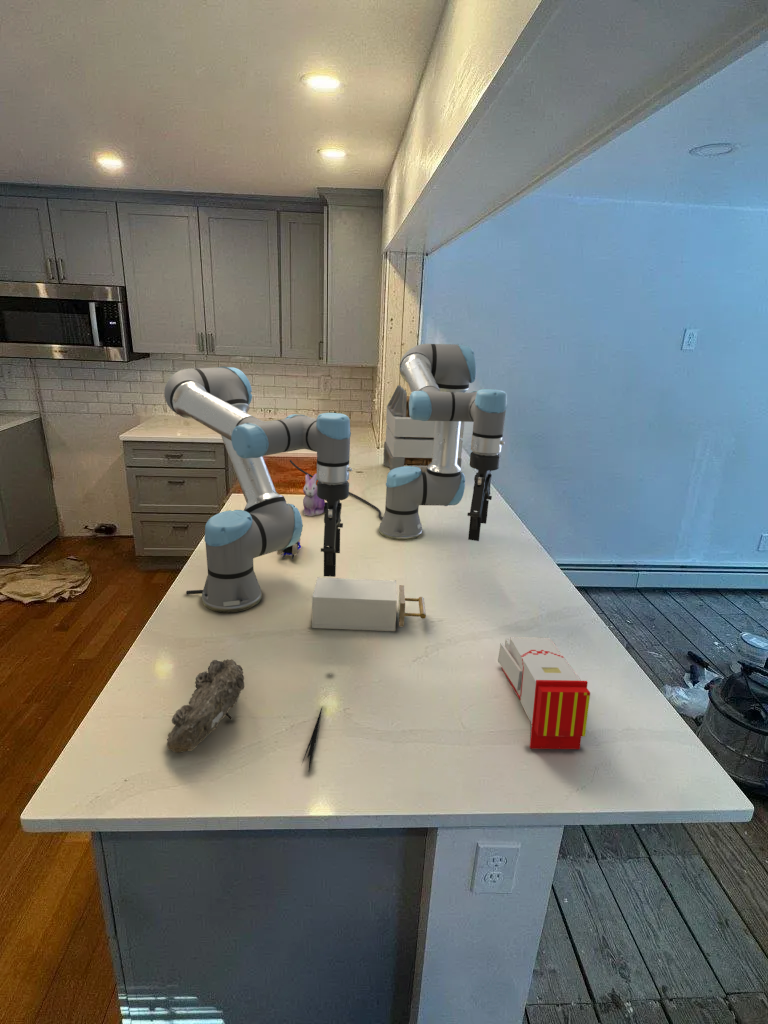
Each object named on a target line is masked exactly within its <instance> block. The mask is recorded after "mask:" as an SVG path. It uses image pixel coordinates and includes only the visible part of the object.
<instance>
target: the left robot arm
mask: <svg viewBox="0 0 768 1024" xmlns="http://www.w3.org/2000/svg"><path fill="white" fill-rule="evenodd" d="M252 391H253V390H252V386H251V382H250V380H249V377H247V374H245V373H244V372H243V370H241V369H240V368H236V367H233V366H229V367H228V366H218V367H203V368H202V367H201V368H200V367H198V368H197V367H196V368H184V369H181V370H178V371H176V372H175V373H173V374H172V375H171V376H170V377H169V378H168V379H167V381H166V384H165V386H164V390H163V393H164V400H165V402H166V404H167V406H168V407H169V409H170V410H171V411H172V412H174V413H175V414H176V415H178V416H180V417H182V418H184V419H193V420H195V421H196V422H198V423H200V424H202V425H203V426H205V427H207V428H208V429H210V430H212V431H213V432H215V433H217V434H219V435H220V437H221V439H222V441H223V445H224V447H225V450H226V452H227V456H228V458H229V460H230V463H231V465H232V468H233V471H234V473H235V476H236V478H237V481H238V484H239V487H240V489H241V492H242V494H243V498H244V500H245V502H246V504H245V507H244V509H234V510H231V509H230V510H225V511H221V512H218V513H215V514H214V515H211V517H210V518H209V519H208V520H207V521H206V523H205V526H204V543H205V555H206V567H207V569H206V570H207V575H206V579H205V582H204V585H203V589H194V590H193V589H192V590H186V591H185V594H186V595H201V599H202V601H201V602H202V604H203V606H204V607H205V608H207V609H208V610H209V611H213V612H218V613H238V612H242V611H245V610H248V609H249V610H250V609H251V608H253V607H254V606H256V605H258V604H259V602H261V600H262V588H261V586H260V583H259V580H258V577H257V576H256V573H255V571H254V559H255V558H258V557H262V556H265V555H268V554H271V553H274V552H277V550H283V549H285V548H287V547H289V546H292V545H294V544H296V543H297V542H298V540H299V539H300V540H301V536H302V532H303V527H302V525H303V518H302V515H301V513H300V511H299V508H298V507H296V505H294V504H292V503H289V502H288V503H287V501H286V498H285V496H284V495H283V494H280V493H279V492H277V490H276V488H275V485H274V482H273V480H272V477H271V474H270V472H269V469H268V466H267V464H266V461H265V459H264V457H265V456H271V455H277V454H282V453H288V452H294V451H295V452H296V451H301V450H307V451H311V452H315V453H316V474H317V481H316V485H317V496H318V497H319V498H320V499H322V500H325V506H324V512H323V513H324V514H323V515H324V516H323V523H324V526H323V527H324V530H323V545H322V546H323V547H321V548H320V552H321V553H323V577H327V578H336V571H337V570H336V569H337V568H336V567H337V554H341V529H343V527H344V523H342V518H341V514H342V502H341V501H344V500H347V498H349V497H350V494H349V492H350V482H349V480H350V472H352V471H353V469H352V467H351V466H350V457H351V454H350V451H351V436H352V435H351V434H352V433H351V420H350V417H349V416H348V415H347V414H344V413H341V412H323V413H319V414H318V415H317V417H311V416H308V415H305V414H295V413H292V414H289V415H287V416H286V417H284V418H282V419H275V420H266V421H265V420H261V419H259V418H257V417H255V416H253V415H251V414H249V411H250V408H251V407H250V404H251V403H252V399H253V394H252Z"/></svg>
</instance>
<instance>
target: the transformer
mask: <svg viewBox="0 0 768 1024" xmlns="http://www.w3.org/2000/svg"><path fill="white" fill-rule="evenodd" d="M407 394H408V393H407V390H406V389H404V388H403V387H402V385H399V384H398V385H397V386H396V388H395V390H394V392H393V394H392V395H391V398H390V400H389V402H388V404H387V405H386V413H385V414H386V415H385V423H386V428H385V438H384V442H383V466H384V467H388V468H389V471H391V470H392V469H394V468H398V467H403V466H412V467H427V466H428V465H429V464H430V463H431V462H432V455H433V442H434V429H435V421H421V420H413V419H411V417H410V415H409V399H410V395H407ZM464 429H465V422H461V426H460V437H459V447H458V458H457V465H458V466H459V467H460V468H461V469H462V461H463V460H462V453H463V442H464V441H463V440H462V439H463V438H464V431H465V430H464Z"/></svg>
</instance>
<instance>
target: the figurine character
mask: <svg viewBox="0 0 768 1024" xmlns="http://www.w3.org/2000/svg"><path fill="white" fill-rule="evenodd" d="M303 527H304V524H302V528H303ZM301 548H302V545H301V538H300V539H299V540H298V542H297V543H296V544H294V545H292V546H289V547H287V548H285V549H283V550H277V551H276V552H277V555H278V556H279V555H282V557H281V558H282V560H285V559H286V555H287V556H291V560H294V559H295V556H297V555H298V553H299V550H300V549H301Z"/></svg>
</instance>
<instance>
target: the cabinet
mask: <svg viewBox="0 0 768 1024" xmlns="http://www.w3.org/2000/svg"><path fill="white" fill-rule="evenodd" d="M397 608H398V595H397V580H395V579H374V578H373V579H372V578H349V577H348V578H347V577H346V578H344V577H327V576H322V577H321V576H317V577H316V580H315V584H314V589H313V592H312V596H311V628H312V629H332V630H354V631H355V630H358V631H379V632H380V631H383V632H384V631H385V632H396V625H397V624H396V623H397V622H396V621H397Z"/></svg>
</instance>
